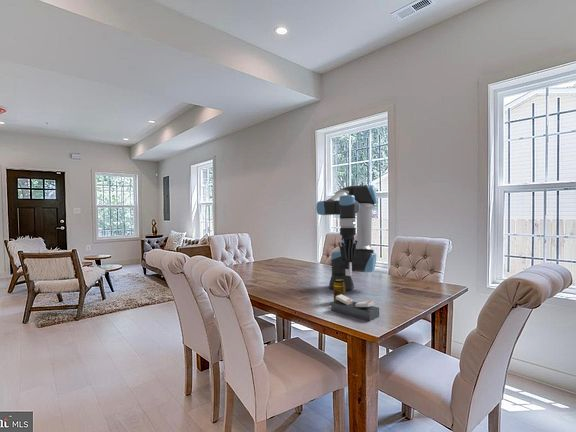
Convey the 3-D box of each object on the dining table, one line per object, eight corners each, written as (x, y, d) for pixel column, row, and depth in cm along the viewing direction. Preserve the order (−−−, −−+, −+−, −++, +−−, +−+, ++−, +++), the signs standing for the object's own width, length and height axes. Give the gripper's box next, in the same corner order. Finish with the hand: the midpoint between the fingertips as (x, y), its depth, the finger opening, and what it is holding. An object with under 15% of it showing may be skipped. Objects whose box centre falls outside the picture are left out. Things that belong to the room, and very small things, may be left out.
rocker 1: (335, 298, 147) (336, 295, 146) (341, 296, 150) (341, 293, 150) (347, 305, 142) (348, 301, 142) (352, 302, 145) (353, 299, 145)
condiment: (330, 303, 159) (330, 280, 159) (339, 299, 165) (338, 277, 165) (342, 305, 154) (342, 282, 154) (351, 301, 161) (350, 278, 160)
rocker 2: (355, 307, 139) (355, 303, 139) (361, 304, 142) (360, 301, 142) (368, 306, 134) (368, 303, 134) (374, 304, 137) (373, 300, 137)
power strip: (325, 309, 149) (325, 299, 149) (335, 305, 155) (335, 296, 155) (369, 321, 132) (369, 310, 131) (379, 316, 137) (379, 306, 137)
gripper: (346, 228, 141) (347, 278, 141) (361, 226, 150) (362, 274, 150) (333, 227, 146) (334, 276, 146) (348, 226, 155) (350, 272, 156)
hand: (348, 275), depth 148 cm, fingers closed
